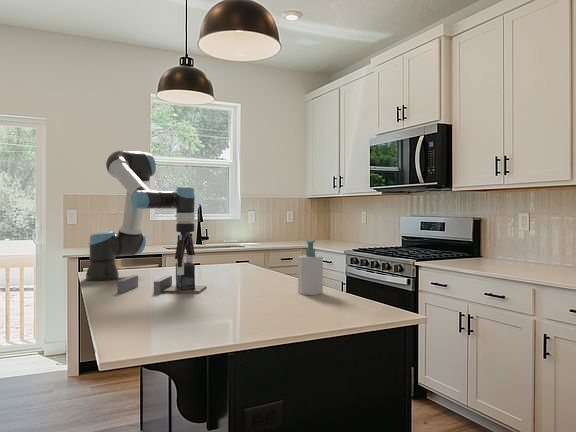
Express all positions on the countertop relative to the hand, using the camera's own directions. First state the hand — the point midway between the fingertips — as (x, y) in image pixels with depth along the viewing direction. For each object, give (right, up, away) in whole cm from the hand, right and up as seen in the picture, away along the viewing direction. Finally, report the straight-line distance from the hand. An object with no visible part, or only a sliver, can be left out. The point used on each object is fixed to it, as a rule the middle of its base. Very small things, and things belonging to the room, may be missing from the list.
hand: (185, 272), depth 198 cm
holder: (-17, -8, +1) cm, 19 cm away
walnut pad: (0, -8, 0) cm, 8 cm away
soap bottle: (+53, -8, -5) cm, 54 cm away
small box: (0, -7, 0) cm, 7 cm away
